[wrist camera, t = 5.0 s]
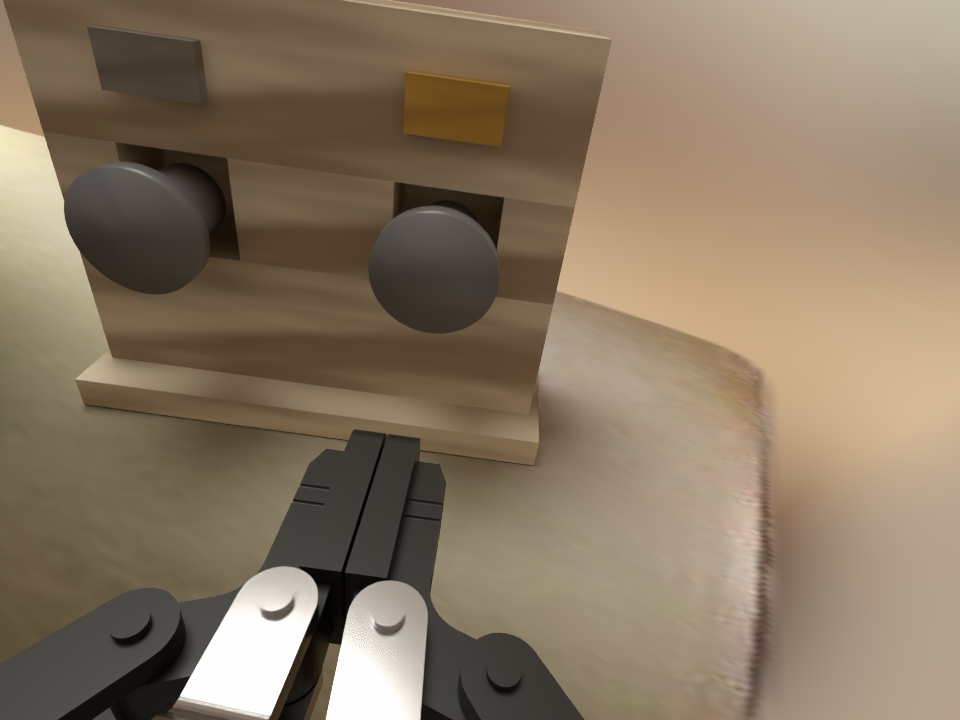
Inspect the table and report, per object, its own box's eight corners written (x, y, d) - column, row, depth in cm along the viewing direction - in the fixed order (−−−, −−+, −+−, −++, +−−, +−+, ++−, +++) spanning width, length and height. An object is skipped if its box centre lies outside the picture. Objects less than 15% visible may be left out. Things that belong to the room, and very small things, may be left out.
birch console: (533, 465, 27) (636, 47, 17) (84, 404, 27) (-83, -58, 17) (531, 371, 34) (605, 30, 24) (171, 321, 33) (89, -45, 23)
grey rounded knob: (489, 341, 22) (508, 223, 19) (367, 324, 22) (368, 204, 19) (494, 292, 25) (510, 187, 22) (389, 277, 25) (393, 170, 22)
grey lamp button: (208, 302, 21) (187, 178, 19) (85, 285, 21) (45, 158, 19) (252, 258, 25) (240, 148, 22) (146, 243, 25) (120, 131, 22)
